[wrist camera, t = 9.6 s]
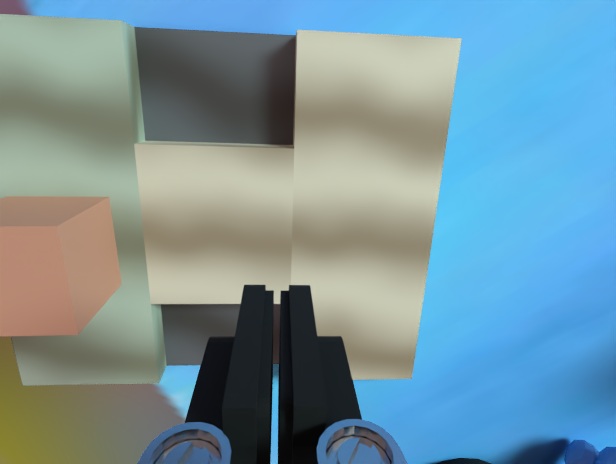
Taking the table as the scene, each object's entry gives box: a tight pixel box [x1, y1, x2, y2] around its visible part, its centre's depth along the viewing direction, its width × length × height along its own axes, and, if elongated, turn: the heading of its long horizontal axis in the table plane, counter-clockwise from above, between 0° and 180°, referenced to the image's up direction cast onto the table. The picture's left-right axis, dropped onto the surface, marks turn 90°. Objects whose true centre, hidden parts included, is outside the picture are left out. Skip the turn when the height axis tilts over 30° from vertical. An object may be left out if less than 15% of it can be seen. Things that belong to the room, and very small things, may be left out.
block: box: [0, 196, 122, 337], centre depth 18 cm, size 5×5×5 cm
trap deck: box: [0, 14, 461, 386], centre depth 22 cm, size 20×24×2 cm
